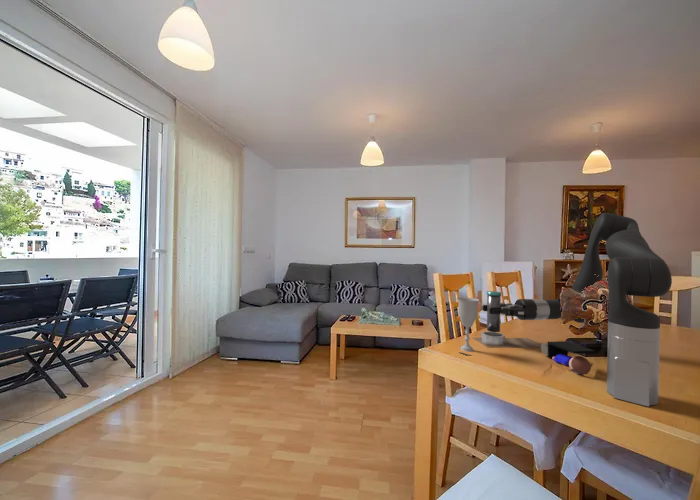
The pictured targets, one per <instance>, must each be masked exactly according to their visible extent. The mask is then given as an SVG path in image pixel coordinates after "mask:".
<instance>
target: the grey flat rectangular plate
mask: <svg viewBox="0 0 700 500" xmlns="http://www.w3.org/2000/svg"><path fill="white" fill-rule="evenodd" d="M472 339H473V340H475V341H477V342H478V343H480V344H481V345H482V346H484V347H486V348H490V349H491V348H499V349H500V348H502V349H503V348H505V349H506V348H511V349H513V348H514V349H515V348H516V349H517V348H518V349H520V348H521V349H526V348H527V349H533V348H534V349H541V344H542V343H539V342H537V341H535V340H532V339H530V338H528V337H505V344H504V345H501V346H496V345H489V344H485V343H483V342H482V341H481V337H472Z"/></svg>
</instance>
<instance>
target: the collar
mask: <svg viewBox="0 0 700 500" xmlns="http://www.w3.org/2000/svg"><path fill="white" fill-rule="evenodd" d="M480 335H481V336H480V338H481V341H482V342H483V343H485V344H489V345H496V346H501V345H504V344H505V338H506V335H505V334H504V333H502V332H491V331H488V330H486V331H481V334H480Z"/></svg>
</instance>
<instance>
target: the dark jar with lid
mask: <svg viewBox="0 0 700 500" xmlns="http://www.w3.org/2000/svg"><path fill="white" fill-rule="evenodd" d="M486 297H487V298H486V299H487V300H486V301H487V302H486V305H487V311H486V331H490V332H497V333H501V313H500V314H490V313H489V308H490V307H499V308H500V306H501V303H502V302H501V297H502V291H501V292H500V291H495V290H487V291H486Z"/></svg>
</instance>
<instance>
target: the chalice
mask: <svg viewBox="0 0 700 500" xmlns="http://www.w3.org/2000/svg"><path fill="white" fill-rule="evenodd" d="M456 300H457V301H458V309H457V311H458V315H459V319H460V322H461V323H462V326H463V327H465V332H464V334H465V336H464V340H465V343H464V344H463V345H461V347H460V350H461V351H462V352H460V351H459V352H458V354H460V355H462V354H463V356H469V357H470V356H474V355H472V354H469V352H474V349H473V346H472V345H470V343H469V342H470V340H471V339H470V334H471V332H470V328H472V326H473V325H474V323H475V321H476V319H477V316H478V308H479V307H478V304H479V302H480V299H478V298H474V297H457V298H456ZM463 351H464V352H468V353H464V352H463Z"/></svg>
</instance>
